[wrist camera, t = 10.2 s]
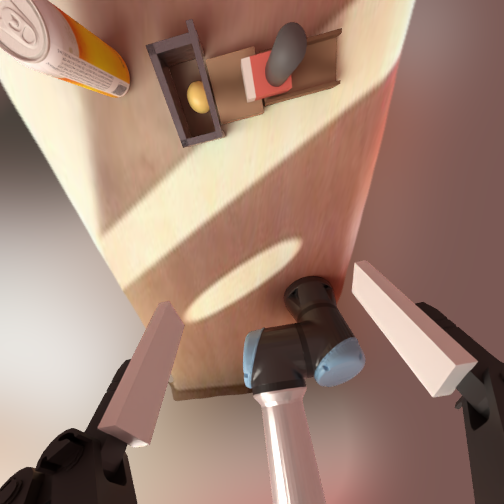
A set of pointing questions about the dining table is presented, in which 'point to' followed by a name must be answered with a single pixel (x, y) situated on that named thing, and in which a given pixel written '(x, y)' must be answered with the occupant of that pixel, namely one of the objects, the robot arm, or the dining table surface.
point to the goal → (162, 58)
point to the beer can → (60, 47)
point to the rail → (312, 68)
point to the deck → (231, 87)
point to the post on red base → (274, 64)
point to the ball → (197, 97)
